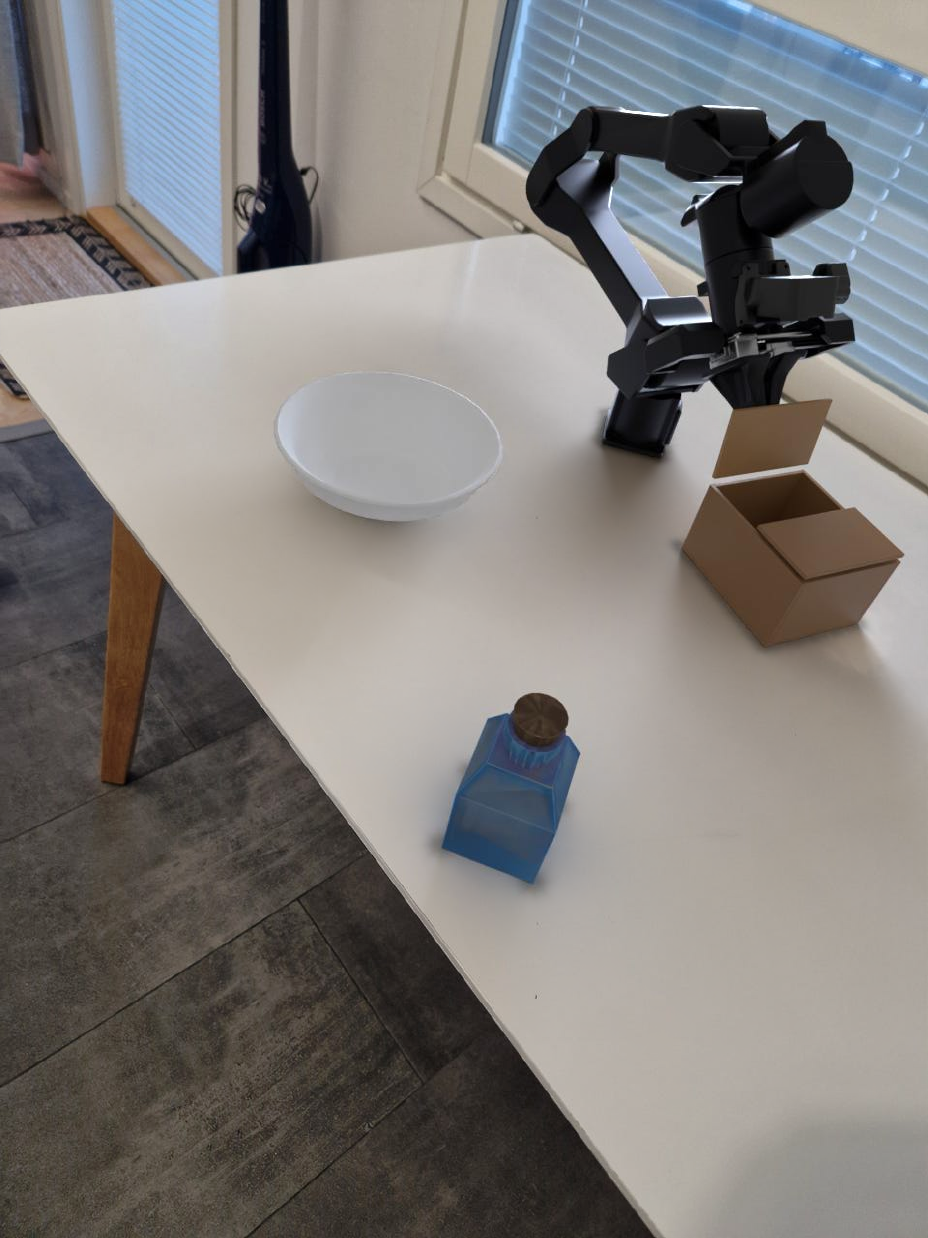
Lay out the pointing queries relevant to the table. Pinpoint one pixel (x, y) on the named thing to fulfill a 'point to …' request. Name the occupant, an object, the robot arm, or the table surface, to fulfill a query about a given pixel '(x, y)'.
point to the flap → (771, 437)
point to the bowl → (387, 444)
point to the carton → (789, 555)
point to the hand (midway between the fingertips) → (764, 442)
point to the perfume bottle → (515, 788)
